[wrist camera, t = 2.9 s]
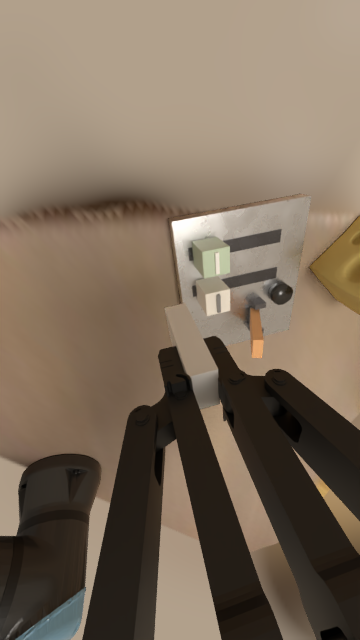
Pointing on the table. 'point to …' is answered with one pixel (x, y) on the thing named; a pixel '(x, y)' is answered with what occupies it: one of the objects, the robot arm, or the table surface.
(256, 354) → the lever orange
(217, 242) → the slider sage
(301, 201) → the panel
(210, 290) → the slider ivory
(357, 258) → the cheese
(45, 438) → the table surface
